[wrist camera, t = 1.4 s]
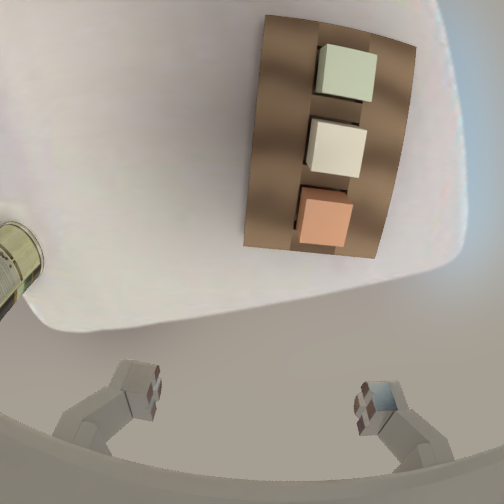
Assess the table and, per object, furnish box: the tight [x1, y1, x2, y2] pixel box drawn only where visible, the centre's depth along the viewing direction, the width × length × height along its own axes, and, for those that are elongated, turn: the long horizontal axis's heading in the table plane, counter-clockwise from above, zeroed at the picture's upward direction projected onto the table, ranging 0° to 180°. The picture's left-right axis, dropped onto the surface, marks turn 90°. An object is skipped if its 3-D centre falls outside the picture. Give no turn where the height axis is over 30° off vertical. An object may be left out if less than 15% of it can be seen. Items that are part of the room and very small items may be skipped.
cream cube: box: [306, 118, 367, 178], centre depth 27 cm, size 4×4×4 cm
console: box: [243, 15, 416, 259], centre depth 30 cm, size 24×15×3 cm, turn 175°
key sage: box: [315, 44, 377, 102], centre depth 24 cm, size 4×4×4 cm
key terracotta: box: [296, 187, 353, 247], centre depth 31 cm, size 4×4×4 cm
